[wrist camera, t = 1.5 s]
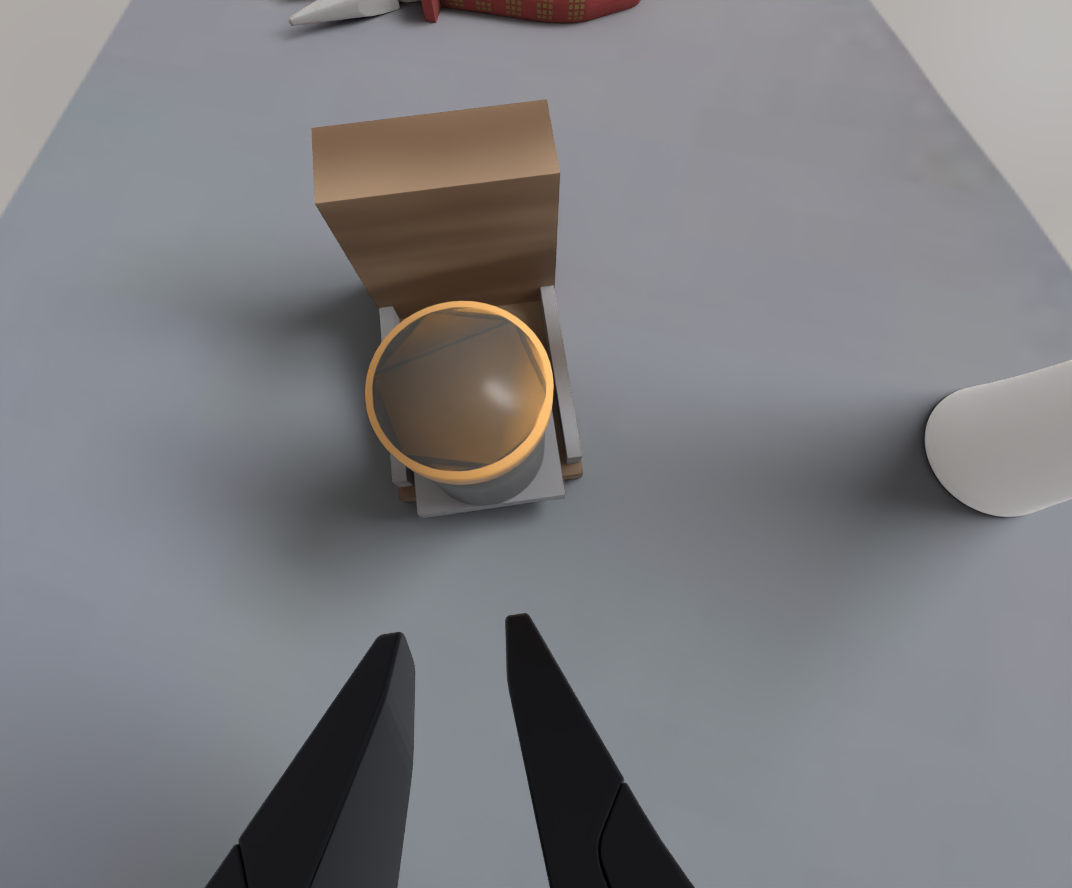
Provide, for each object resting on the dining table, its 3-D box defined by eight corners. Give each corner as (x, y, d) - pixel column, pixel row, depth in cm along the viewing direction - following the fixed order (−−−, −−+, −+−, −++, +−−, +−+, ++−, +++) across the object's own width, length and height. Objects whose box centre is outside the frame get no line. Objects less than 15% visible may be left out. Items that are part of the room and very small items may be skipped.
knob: (564, 502, 22) (577, 462, 14) (423, 522, 22) (360, 493, 14) (546, 383, 24) (548, 288, 16) (412, 401, 23) (349, 314, 16)
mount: (581, 477, 24) (604, 419, 15) (405, 502, 24) (325, 458, 15) (544, 256, 27) (546, 99, 18) (387, 276, 26) (311, 128, 18)
